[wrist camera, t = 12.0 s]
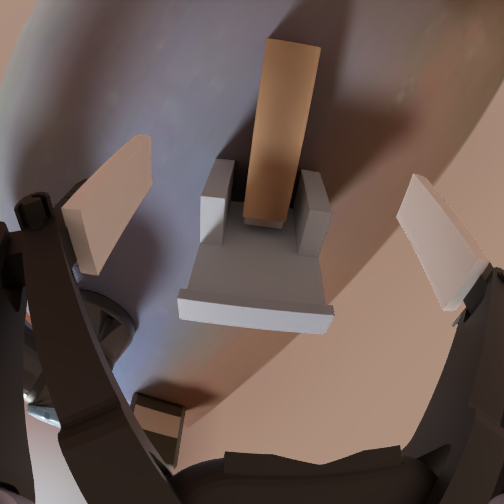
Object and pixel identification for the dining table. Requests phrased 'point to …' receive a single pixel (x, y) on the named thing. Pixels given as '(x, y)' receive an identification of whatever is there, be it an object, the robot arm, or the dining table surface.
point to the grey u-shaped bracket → (259, 261)
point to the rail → (279, 130)
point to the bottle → (160, 425)
